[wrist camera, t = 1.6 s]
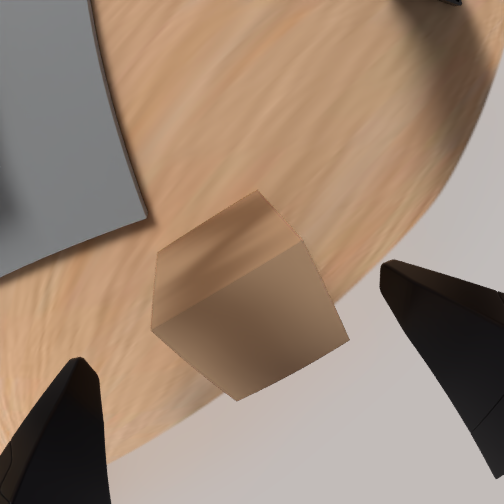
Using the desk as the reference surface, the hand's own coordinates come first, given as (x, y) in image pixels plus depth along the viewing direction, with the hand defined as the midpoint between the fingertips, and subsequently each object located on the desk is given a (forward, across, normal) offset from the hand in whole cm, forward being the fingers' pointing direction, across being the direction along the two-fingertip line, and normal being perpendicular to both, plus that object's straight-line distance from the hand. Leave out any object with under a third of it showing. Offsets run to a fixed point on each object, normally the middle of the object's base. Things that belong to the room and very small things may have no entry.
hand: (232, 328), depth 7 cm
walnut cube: (+6, -1, +2) cm, 6 cm away
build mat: (+6, +10, -9) cm, 15 cm away
